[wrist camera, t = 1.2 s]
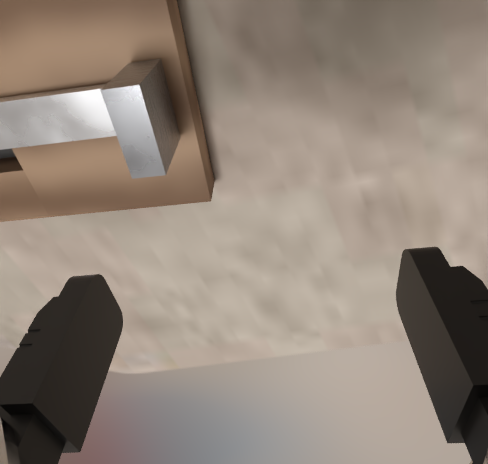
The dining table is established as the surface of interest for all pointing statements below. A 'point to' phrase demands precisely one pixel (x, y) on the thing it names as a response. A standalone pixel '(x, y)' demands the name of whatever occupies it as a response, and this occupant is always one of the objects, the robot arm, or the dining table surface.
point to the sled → (101, 117)
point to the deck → (88, 74)
